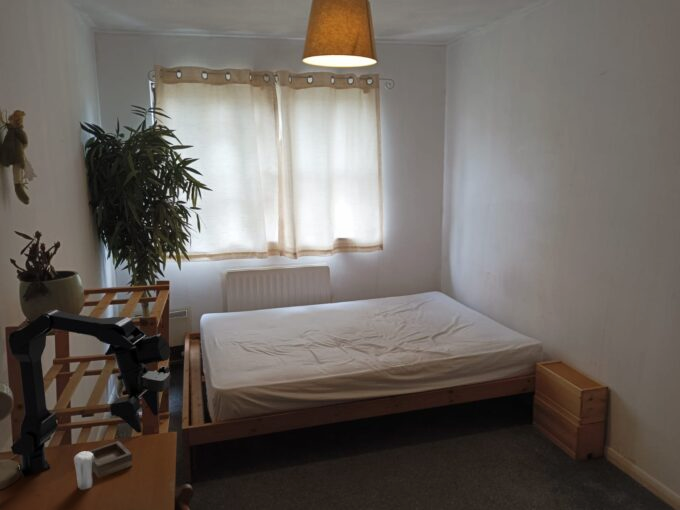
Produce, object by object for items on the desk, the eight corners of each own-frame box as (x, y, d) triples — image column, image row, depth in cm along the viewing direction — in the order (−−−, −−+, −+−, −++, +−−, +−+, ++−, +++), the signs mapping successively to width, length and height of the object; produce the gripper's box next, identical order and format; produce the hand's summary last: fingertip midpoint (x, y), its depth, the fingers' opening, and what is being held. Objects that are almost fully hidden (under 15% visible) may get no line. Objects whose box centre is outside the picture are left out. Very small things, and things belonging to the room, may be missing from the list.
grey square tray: (86, 463, 146) (85, 451, 146) (118, 451, 153) (118, 440, 152) (98, 478, 140) (98, 466, 139) (132, 465, 146) (131, 453, 146)
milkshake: (90, 493, 134) (88, 457, 132) (71, 490, 135) (69, 453, 133) (101, 482, 138) (100, 447, 136) (83, 479, 139) (81, 444, 137)
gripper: (142, 376, 125) (161, 436, 127) (175, 348, 143) (191, 402, 145) (99, 384, 126) (118, 444, 129) (137, 355, 145) (153, 408, 147)
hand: (148, 423), depth 137 cm, fingers open, 9 cm apart
